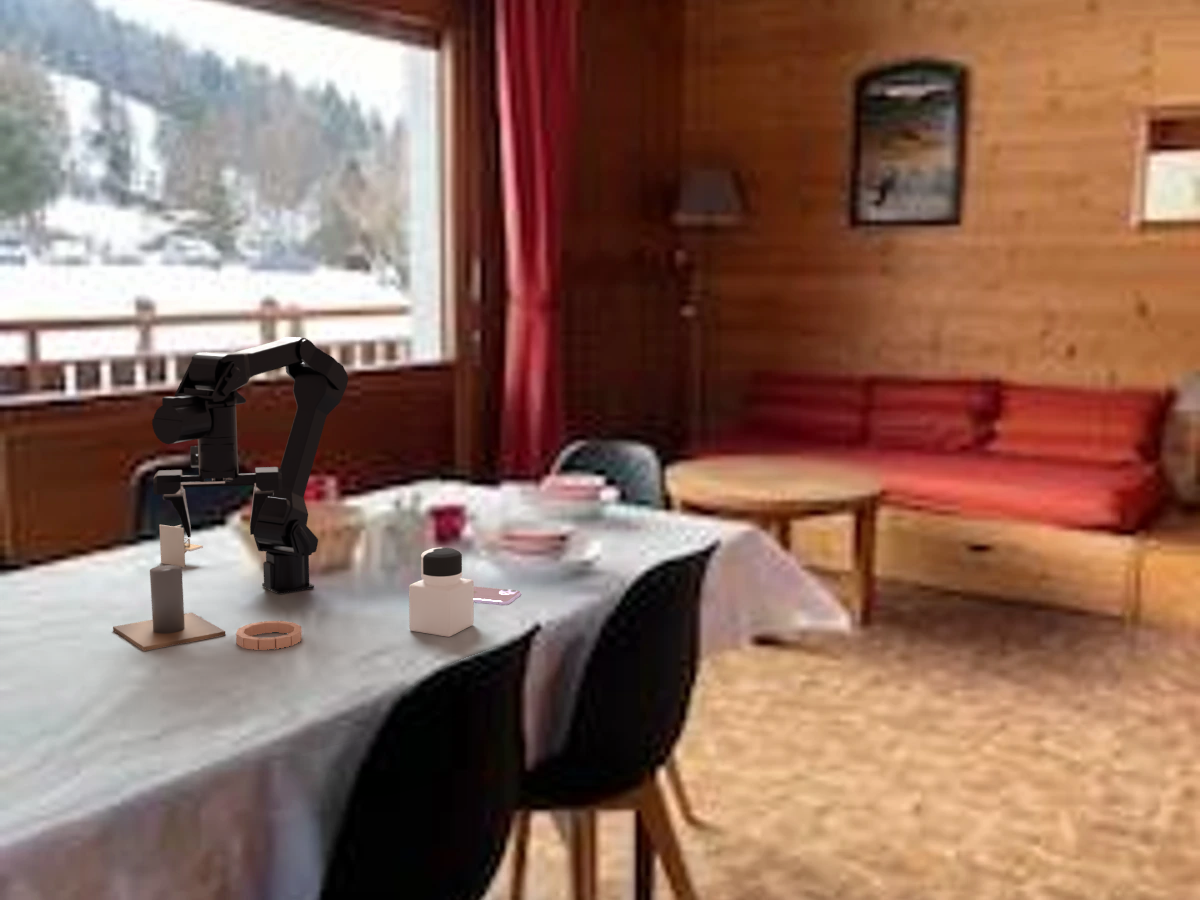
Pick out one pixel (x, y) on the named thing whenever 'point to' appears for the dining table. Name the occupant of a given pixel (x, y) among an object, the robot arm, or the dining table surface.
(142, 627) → the coaster
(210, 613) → the dining table surface
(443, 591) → the medicine bottle
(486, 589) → the mobile phone
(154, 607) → the cylinder
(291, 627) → the orange segmented ring
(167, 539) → the architectural model
